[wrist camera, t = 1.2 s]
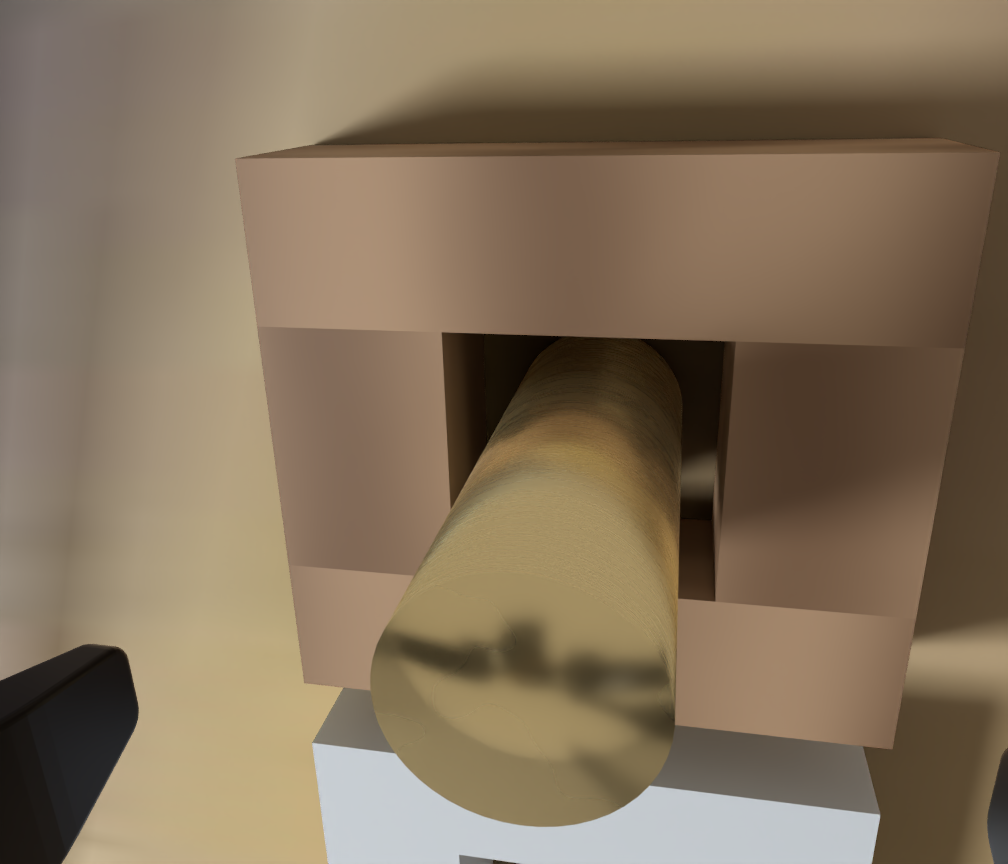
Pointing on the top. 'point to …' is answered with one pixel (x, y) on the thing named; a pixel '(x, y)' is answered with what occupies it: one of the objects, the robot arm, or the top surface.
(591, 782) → the pin
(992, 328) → the top surface
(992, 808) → the robot arm
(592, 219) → the mount
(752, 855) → the socket
